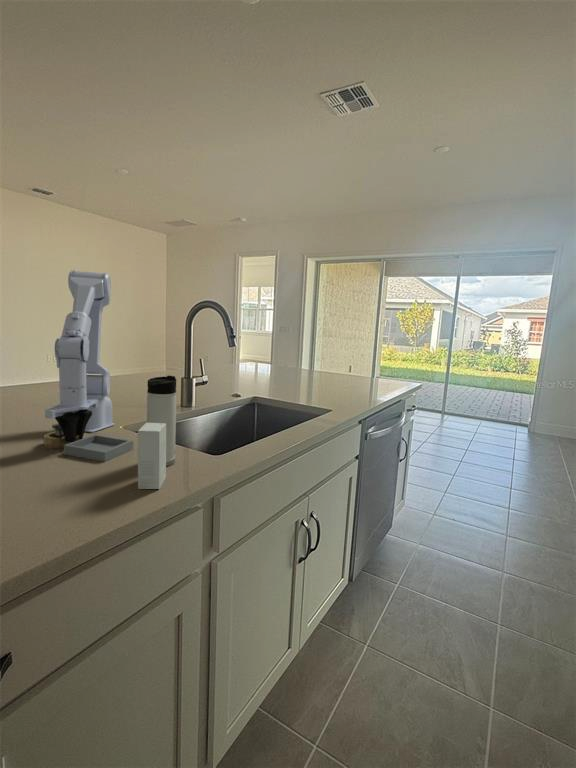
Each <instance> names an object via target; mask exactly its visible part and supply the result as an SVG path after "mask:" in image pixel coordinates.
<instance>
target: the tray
mask: <svg viewBox="0 0 576 768" xmlns="http://www.w3.org/2000/svg"><path fill="white" fill-rule="evenodd" d="M132 450H134V440H133V439H126V438H120V437H114V436H108V435H107V436H106V435H102V434H95V433H94V434H92V435H89V436H87V437H83V439H80V440H77V441H74V442H72V443H69V444H66V445H64V448H63V455H67V456H72V457H77V458H82V459H89V460H93V461H97V462H98V461H99V462H104V463H105V462H107V461H110V460H112V459H114V458H116V457H118V456H121V455H123V454H126V453H127V452H130V451H132Z"/></svg>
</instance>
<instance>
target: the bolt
mask: <svg viewBox="0 0 576 768" xmlns="http://www.w3.org/2000/svg"><path fill="white" fill-rule="evenodd" d="M51 427H52V428H51V429H54V432H55V437H64V435H63V431H62V429H61V427H60V425H59V423H58V422H57V423H55V424H52V426H51Z"/></svg>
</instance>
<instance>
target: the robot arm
mask: <svg viewBox="0 0 576 768" xmlns="http://www.w3.org/2000/svg"><path fill="white" fill-rule="evenodd" d="M68 273H69V274H68V277H67V278H68V280H67V283H68V289H69V291H70V293H71V296H72V298H73V304H72V311H71V312H69V313H67V315H66V316H65V321H64V325H63V328H62V332H61V336H60V337H59V338H56V339H55V342H54V357H55V360H56V368H57V369H58V378H59V379H58V380H59V383H58V384H59V404H57V405H55V406H52V407H50V408H47V409H44V418H45V419H50V420H52V419H53V420H55V421H56V422H57V424H58V423H59V425H60V427H61V429H62V431H63V434H64V436H65V440H66V442H69V443H72V442H74V441H75V440H76V434H78V435H80V439H83V438H84V434H85V432H86V433H95V432H98V431H101V430H105V429H107V428H109V427H113V426H115V424H116V423H114V422H113V402H112V400H111V398H110V397H109V395H110V391H111V378H110V377H111V374H110V372H109V369H108V368H106V366H103V365H102V364H101V363H100V362H101V360H100V359H101V341H102V340H101V337H102V318H103V317H102V315H103V311H104V307H107V306H108V305H110V301H111V295H112V294H111V292H112V290H111V289H112V283H111V282H112V281H111V280H112V279H111V276H110V275H109V274H108V273H107V272H92V271H80V270H79V271H78V270H75V269H72V270H71V271H70V272H68Z"/></svg>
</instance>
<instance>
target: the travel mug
mask: <svg viewBox="0 0 576 768" xmlns="http://www.w3.org/2000/svg"><path fill="white" fill-rule="evenodd" d="M176 388H177V378H176V376H174V375H167V376H158V377H157V376H156V377H152V378H149V379H148V380H147V391H146V394H147V395H146V423H165V424H166V467H170V466H171V465H173V464H174V463H175V462H176V427H177V425H176V424H177V389H176ZM169 465H170V466H169Z"/></svg>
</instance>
